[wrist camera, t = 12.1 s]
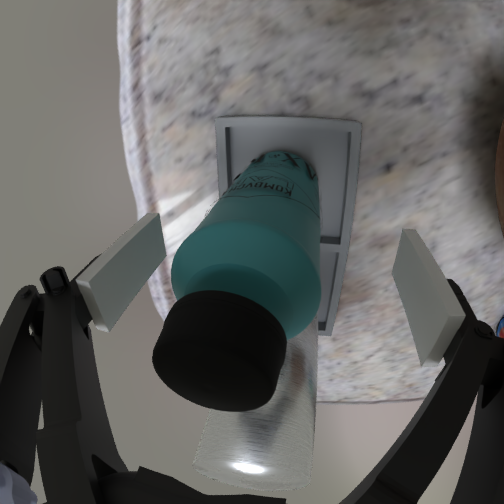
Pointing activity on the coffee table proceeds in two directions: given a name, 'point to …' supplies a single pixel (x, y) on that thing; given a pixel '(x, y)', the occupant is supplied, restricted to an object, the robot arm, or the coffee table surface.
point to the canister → (268, 429)
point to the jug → (500, 177)
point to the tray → (327, 169)
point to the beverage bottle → (244, 287)
